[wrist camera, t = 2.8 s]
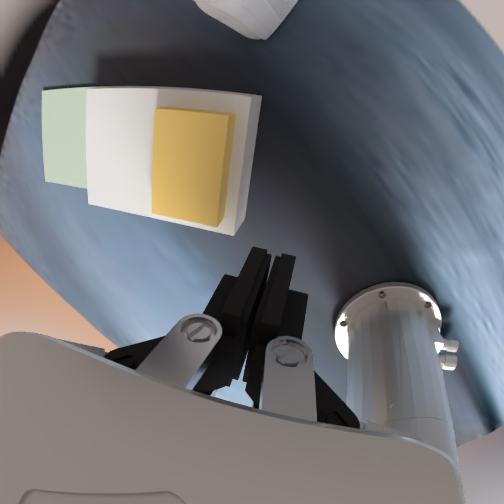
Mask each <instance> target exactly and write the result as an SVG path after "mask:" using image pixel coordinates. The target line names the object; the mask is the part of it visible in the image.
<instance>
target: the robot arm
mask: <svg viewBox="0 0 504 504" xmlns="http://www.w3.org/2000/svg"><path fill="white" fill-rule="evenodd" d="M295 259H296V256H292V255H287V254H283V253H282V256H281V257H279V256H276V257H275V260H274V263H273V266H272V269H271V272H270V275H269V278H268V281H267V277H268V272H269V267H270V261H271V254H267V250H266V249H261V248H257V247H252V249H251V251H250V253H249V255H248V258H247V260H246V262H245V264H244V266H243V268H242V270H241V272H240V274H239V276H238V277H235V276H230V275H226V274H225V275H224V276H223V278H222V279H221V281H220V283H219V285H218V287H217V288H216V290H215V292H214V294H213V296H212V298H211V299H210V301H209V303H208V305H207V307H206V309H205V310H204V312H203V314H191V315H188V316H185V317H183V318H182V319H181V320H179V321H178V323H177V324H176V325H175V326H174V327H173V328H172V329H171V330H170V332H169V333H168V334H167V335H166V336H163V337H159V338H156V339H152V340H148V341H144V342H141V343H137V344H133V345H129V346H125V347H121V348H117V349H115V350H112V351H110V352H109V353H107V352H105V350H104V349H102V348H98V347H93V346H88V345H83V344H78V343H74V342H69V341H65V340H60V339H56V338H53V337H50V336H46V335H42V334H38V333H30V332H12V333H8V334H5V335H3V336H1V337H0V504H466V502H465V494H464V488H463V483H462V478H461V474H460V467H459V461H458V455H457V448H456V441H455V434H454V428H453V422H452V416H451V411H450V405H449V400H448V395H447V390H446V386H445V381H444V377H443V372H442V369H444V370H454V369H455V367H456V365H457V356H456V355H452V354H445V353H442V354H441V353H438V352H439V351H440V350H445V351H449V352H456V351H457V349H458V346H459V343H458V341H456V340H451V339H443V337H442V336H441V335H440V330H441V325H442V319H441V313H440V310H439V307H438V305H437V303H436V300H435V299H434V298H433V297H432V295H431V294H430V293H428V292H427V291H426V290H424V289H423V288H421V287H419V286H416V285H414V284H410V283H405V282H387V283H381V284H377V285H374V286H371V287H369V288H366V289H364V290H362V291H360V292H359V293H357V294H356V295H354V296H353V297H352V298H351V299H350V300H349V301H348V302H347V303H345V305H344V306H343V308H342V309H341V310H340V312H339V314H338V316H337V319H336V323H335V335H334V336H335V342H336V345H337V347H338V349H339V351H340V352H341V353H342V355H343V356H344V357H345V358H346V359H348V376H347V401H346V404H345V403H344V402H343V401H342V400H341V399H340V398H339V397H338V396H337V395H336V393H335V392H334V391H333V390H332V389H331V388H330V387H329V386H328V385H327V384H326V383H325V382H324V381H323V380H322V379H321V378H320V376H319V375H318V374H317V373H316V372H315V371H314V363H313V354H312V350H311V349H310V347H309V346H308V345H307V344H306V343H305V342H304V341H302V340H301V339H302V333H303V326H304V320H305V313H306V307H307V300H308V294H306V293H302V292H297V291H293V290H289V286H290V281H291V277H292V272H293V268H294V264H295ZM266 282H267V283H266ZM247 352H248V355H247ZM246 355H247V360H246V365H245V370H244V376H243V382H247V384H246V389H245V391H246V392H247V394H248V395H249V397H250V398H251V399H252V401H253V403H252V407H249V406H245V405H241V404H237V403H233V402H230V401H226V400H223V399H219V398H216V397H215V394H216V392H217V389H219V388H222V387H225V386H229V387H230V384H231V382H232V379H236V380H238V379H239V376H240V373H241V370H242V367H243V364H244V361H245V358H246Z"/></svg>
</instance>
